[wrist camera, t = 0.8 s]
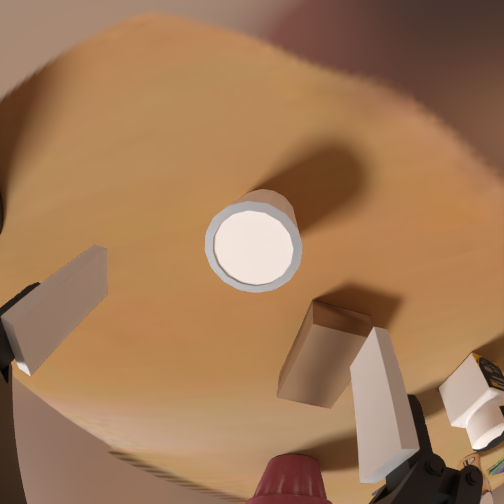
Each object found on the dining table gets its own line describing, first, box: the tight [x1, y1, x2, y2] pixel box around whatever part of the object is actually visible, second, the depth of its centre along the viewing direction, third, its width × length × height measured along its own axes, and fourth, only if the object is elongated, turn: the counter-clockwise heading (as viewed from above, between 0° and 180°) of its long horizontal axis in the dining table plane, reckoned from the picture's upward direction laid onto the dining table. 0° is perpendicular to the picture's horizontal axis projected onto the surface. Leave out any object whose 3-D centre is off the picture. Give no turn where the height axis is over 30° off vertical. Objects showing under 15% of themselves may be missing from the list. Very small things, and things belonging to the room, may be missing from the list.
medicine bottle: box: [439, 353, 504, 452], centre depth 26 cm, size 7×7×12 cm
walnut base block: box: [277, 300, 373, 409], centre depth 30 cm, size 6×11×4 cm, turn 166°
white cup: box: [205, 189, 303, 293], centre depth 24 cm, size 7×7×7 cm
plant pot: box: [246, 454, 332, 504], centre depth 38 cm, size 14×14×13 cm
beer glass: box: [456, 453, 494, 504], centre depth 34 cm, size 7×7×15 cm
